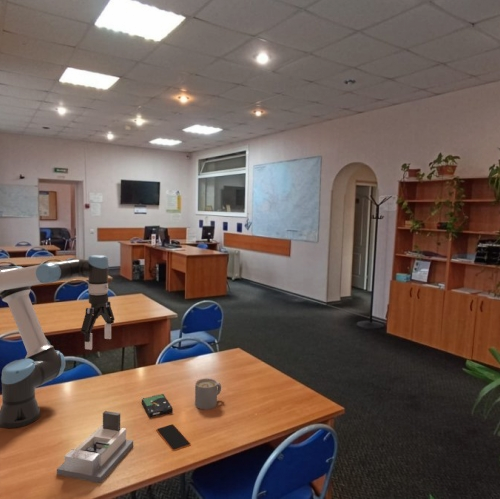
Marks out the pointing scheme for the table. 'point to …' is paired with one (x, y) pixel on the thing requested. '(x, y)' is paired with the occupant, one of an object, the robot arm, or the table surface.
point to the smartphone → (173, 437)
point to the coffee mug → (206, 393)
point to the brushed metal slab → (82, 462)
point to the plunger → (108, 428)
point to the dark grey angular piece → (95, 447)
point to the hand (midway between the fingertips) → (98, 343)
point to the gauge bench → (101, 468)
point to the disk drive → (157, 405)
